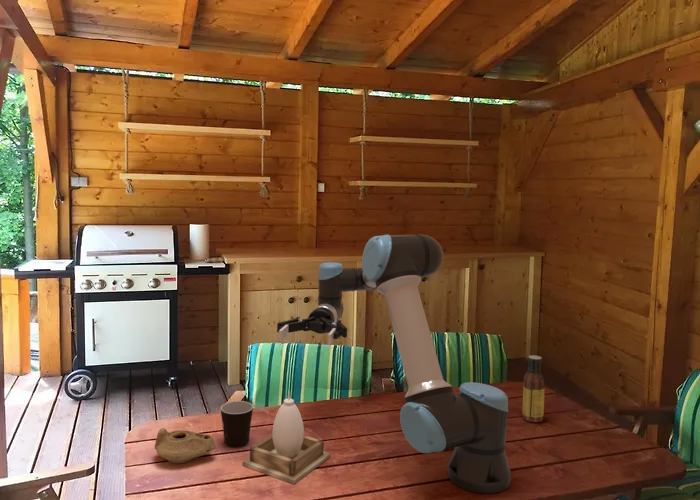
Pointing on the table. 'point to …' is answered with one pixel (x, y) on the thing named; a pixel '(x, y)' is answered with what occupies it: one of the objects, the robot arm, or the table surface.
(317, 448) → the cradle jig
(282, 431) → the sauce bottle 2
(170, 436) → the oil lamp
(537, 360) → the sauce bottle
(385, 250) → the robot arm
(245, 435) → the coffee mug
